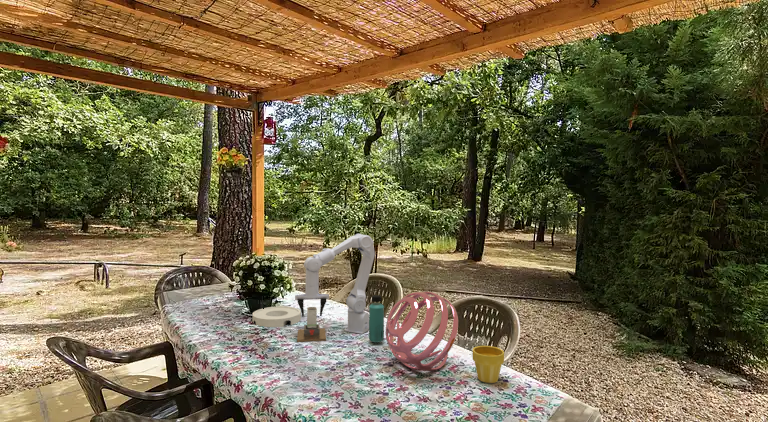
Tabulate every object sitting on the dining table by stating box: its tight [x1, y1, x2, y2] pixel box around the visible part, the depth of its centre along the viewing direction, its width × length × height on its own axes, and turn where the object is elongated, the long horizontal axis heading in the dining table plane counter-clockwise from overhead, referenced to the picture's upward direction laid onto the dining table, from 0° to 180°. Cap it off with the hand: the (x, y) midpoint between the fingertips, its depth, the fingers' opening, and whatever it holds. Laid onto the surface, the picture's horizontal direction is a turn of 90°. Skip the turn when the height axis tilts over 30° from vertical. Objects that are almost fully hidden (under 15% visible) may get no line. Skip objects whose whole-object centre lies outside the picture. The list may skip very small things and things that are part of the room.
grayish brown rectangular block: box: [306, 306, 318, 328], centre depth 182 cm, size 4×4×8 cm
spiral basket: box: [385, 291, 459, 372], centre depth 152 cm, size 28×28×27 cm
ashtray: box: [252, 306, 302, 328], centre depth 206 cm, size 23×23×4 cm
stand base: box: [296, 323, 327, 343], centre depth 183 cm, size 14×12×4 cm
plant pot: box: [472, 345, 505, 384], centre depth 141 cm, size 10×10×10 cm
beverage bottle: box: [368, 294, 385, 343], centre depth 175 cm, size 6×7×20 cm
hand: (311, 315), depth 182 cm, fingers open, 7 cm apart
